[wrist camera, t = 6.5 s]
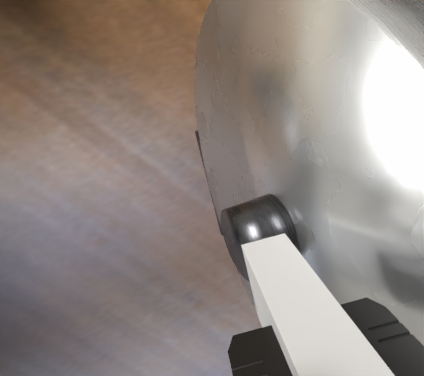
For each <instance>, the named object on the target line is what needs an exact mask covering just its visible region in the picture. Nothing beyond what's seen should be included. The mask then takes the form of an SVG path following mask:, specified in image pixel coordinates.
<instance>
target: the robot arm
mask: <svg viewBox="0 0 424 376" xmlns="http://www.w3.org/2000/svg"><path fill="white" fill-rule="evenodd" d="M241 247H242V251H243V255H244V259H245V263H246V268H247V272H248V276H249V280H250V284H251V289H252V293H253V297H254V301H255V305H256V310H257V314H258V317H259V320H260V323H261V325H262V328H259V329H255V330H252V331H248V332H245V333H241V334H237V335H234V336H233V337H232V341H231V344H230V347H229V350H228V354H229V359H230V363H231V368H232V373H233V376H424V346H423V345H422V344H421V343H420V342H419V341H418V339H417V338H416V337H415V336H414V335H413V334H410V331H409V330H408V329H407V328H406V327H405V326H404V325H403V324H402V323H399V320H398V319H397V318H396V317H395V316H394V315H393V314H392V313H391V312H390V311H389V310H388V309H387V308H386V307H385V306H383V305H381V304H379V303H377V302H375V301H373V300H371V299H369V298H367V297H366V298H363V299H359V300H355V301H352V302H348V303H344V304H341V305H340V304H339V303H338V302H337V300H336V299H335V298H334V296H333V295H332V294H331V292H330V291H329V290H328V289H327V287H326V286H325V285H324V283H323V282H322V281H321V280H320V278H319V277H318V276H317V274H316V273H315V272H314V270H313V269H312V268H311V267H310V265H309V264H308V263H307V261H306V260H305V259H304V258H303V256H302V255H301V254H300V252H299V251H298V250H297V248H296V247H295V246H294V245H293V243H292V242H291V241H290V239H289V238H288V237H287V236H286V234H285V233H284V234H280V235H276V236H273V237H269V238H265V239H261V240H258V241H254V242H250V243H246V244H243V245H241Z"/></svg>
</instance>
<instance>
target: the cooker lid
mask: <svg viewBox="0 0 424 376" xmlns="http://www.w3.org/2000/svg"><path fill="white" fill-rule="evenodd" d="M195 103H196V116H197V124H198V130H197V131H195V134H196V138H197V142H198V146H199V150H200V154H201V158H202V161H203V165H204V169H205V173H206V177H207V181H208V185H209V189H210V193H211V197H212V201H213V205H214V209H215V212H216V216H217V220H218V224H219V228H220V232H221V235H223V236H224V239H225V242H226V245H227V248H228V251H229V253H230V255H231V258H232V260H233V262H234V264H235V266H236V268H237V270H238V272H239V275H240V277H241V279H242V282H243V284H244V286H245V288H246V291H247V293H248V295H249V297H250V299H251V301H252V303H253V305H254V307H255V309H256V305H255V301H254V297H253V293H252V289H251V284H250V280H249V276H248V272H247V268H246V263H245V259H244V255H243V251H242V247H241V245H243V244H246V243H250V242H254V241H258V240H261V239H265V238H269V237H273V236H276V235H280V234H284V233H285V234H286V236H287V237H288V238H289V239H290V241H291V242H292V243H293V245H294V246H295V247H296V248H297V250H298V251H299V252H300V254H301V255H302V256H303V258H304V259H305V260H306V261H307V263H308V264H309V265H310V267H311V268H312V269H313V270H314V272H315V273H316V274H317V276H318V277H319V278H320V280H321V281H322V282H323V283H324V285H325V286H326V287H327V289H328V290H329V291H330V292H331V294H332V295H333V296H334V298H335V299H336V300H337V302H338V303H339V304H340V305H341V304H344V303H348V302H352V301H355V300H359V299H363V298H366V297H367V298H369V299H371V300H373V301H375V302H377V303H379V304H381V305H383V306H385V307H386V308H387V309H388V310H389V311H390V312H391V313H392V314H393V315H394V316H395V317H396V318H397V319H398V320H399V323H402V324H403V325H404V326H405V327H406V328H407V329H408V330H409V331H410V334H413V335H414V336H415V337H416V338H417V339H418V341H419V342H420V343H421V344H422V345H423V346H424V1H423V0H212V1H211V3H210V4H209V6H208V9H207V11H206V14H205V17H204V19H203V22H202V26H201V30H200V34H199V39H198V45H197V53H196V63H195ZM256 311H257V310H256Z"/></svg>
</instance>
